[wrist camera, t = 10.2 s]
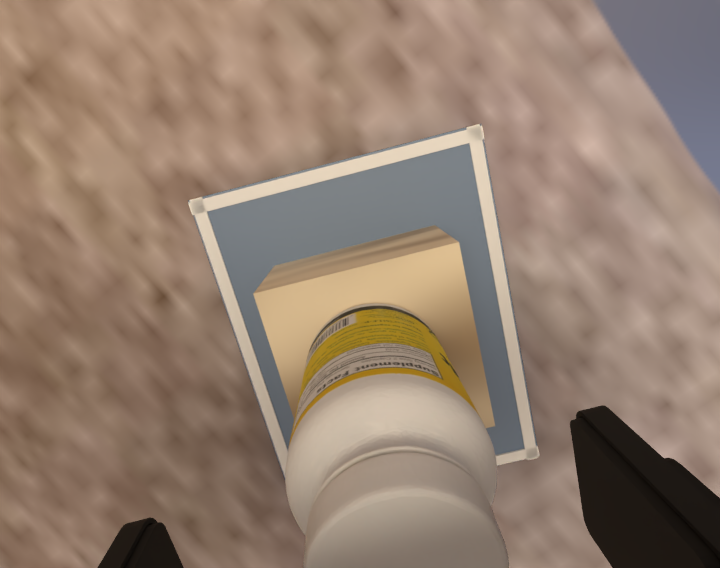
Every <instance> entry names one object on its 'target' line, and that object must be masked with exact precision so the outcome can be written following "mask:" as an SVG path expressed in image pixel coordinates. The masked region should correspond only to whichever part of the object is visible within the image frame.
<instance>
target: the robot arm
mask: <svg viewBox="0 0 720 568" xmlns="http://www.w3.org/2000/svg"><path fill="white" fill-rule="evenodd" d="M570 428H571V435H572V441H573V448H574V455H575V462H576V469H577V476H578V482H579V489H580V496H581V503H582V510H583V516H584V521H585V524H586V526H587V529H588V531H589V533H590V535H591V536H592V538H593V539H594V541H595V542H596V544H597V545H598V547H599V548H600V550H601V551H602V553H603V554H604V556H605V557H606V558H607V560H608V561H609V563H610V564H611V566H612V567H613V568H720V498H719V497H718V496H716V495H715V494H714V493H713V492H712V491H711V490H710V489H708V488H707V487H706V486H705V485H704V484H703V483H702V482H700V481H699V480H698V479H697V478H696V477H695V476H694V475H692V474H691V473H690V472H689V471H688V470H687V469H686V468H684V467H683V466H682V465H681V464H680V463H678V462H677V461H675V460H674V459H671V458H665V459H664V458H663V457H662V456H661V455H660V454H658V453H657V452H656V451H655V450H654V449H653V448H652V447H651V446H650V445H649V444H647V443H646V442H645V441H644V440H643V439H642V438H641V437H640V436H639V435H637V434H636V433H635V432H634V431H633V430H632V429H631V428H630V427H629V426H628V425H626V424H625V423H624V422H623V421H622V420H621V419H620V418H619V417H618V416H616V415H615V414H614V413H613V412H612V411H611V410H610V409H609V408H607V407H606V406H598V407H594V408H590V409H586V410H582V411H578V412H577V415H576V419H575V420H572V421H571V422H570ZM98 568H183V565H182V563H181V561H180V559H179V556H178V554H177V552H176V550H175V547H174V545H173V543H172V541H171V539H170V536H169V534H168V532H167V530H166V527H165V526H164V524H163V523H157V521H156V520H155V519H154V518H147V519H143V520H139V521H135V522H131V523H127V524H125V525H124V526H123V527H122V528H121V530H120V531H119V533H118V535H117V536H116V538H115V540H114V541H113V543H112V545H111V546H110V548H109V550H108V551H107V553H106V555H105V556H104V558H103V560H102V561H101V563H100V565H99V566H98Z"/></svg>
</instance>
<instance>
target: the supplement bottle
mask: <svg viewBox="0 0 720 568" xmlns="http://www.w3.org/2000/svg"><path fill="white" fill-rule="evenodd" d="M285 484H286V493H287V497H288V502H289V506H290V509H291V511H292V514H293V516H294V518H295V521H296V522H297V524H298V526H299V528H300V529H301V530H302V532H303V533H304V535H305V536H306V540H305V551H304V562H303V568H509V562H508V554H507V549H506V546H505V542H504V539H503V537H502V534H501V532H500V529H499V527H498V524H497V522H496V519H495V517H494V514H493V510H492V508H491V506H492V503H493V500H494V496H495V491H496V485H497V462H496V456H495V452H494V448H493V444H492V442H491V439H490V437H489V434H488V432H487V430H486V428H485V425H484V423H483V421H482V419H481V417H480V416H479V414H478V412H477V410H476V408H475V406H474V405H473V403H472V401H471V399H470V397H469V395H468V394H467V392H466V390H465V388H464V386H463V385H462V383H461V381H460V379H459V377H458V375H457V373H456V371H455V370H454V368H453V366H452V364H451V362H450V361H449V359H448V357H447V355H446V353H445V351H444V349H443V347H442V346H441V344H440V342H439V340H438V339H437V337H436V336H435V334H434V333H433V331H432V330H431V329H430V327H429V326H428V325H427V324H426V323H425V322H424V321H423V320H421V319H420V318H419V317H418V316H416V315H415V314H413V313H411V312H410V311H407V310H405V309H403V308H400V307H397V306H394V305H389V304H380V303H373V304H363V305H358V306H355V307H352V308H349V309H347V310H345V311H343V312H341V313H339V314H337V315H336V316H334V317H333V318H332V319H331V320H329V321H328V322H327V323H326V324H325V325H324V326H323V327H322V329H321V330H320V331H319V332H318V334H317V335H316V337H315V339H314V340H313V343H312V345H311V347H310V350H309V354H308V357H307V360H306V365H305V370H304V376H303V381H302V385H301V390H300V395H299V400H298V405H297V410H296V415H295V419H294V424H293V429H292V433H291V438H290V443H289V449H288V456H287V462H286V474H285Z"/></svg>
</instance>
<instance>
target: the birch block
mask: <svg viewBox="0 0 720 568" xmlns="http://www.w3.org/2000/svg"><path fill="white" fill-rule="evenodd" d="M253 295H254V298H255V301H256V304H257V307H258V310H259V313H260V316H261V319H262V322H263V325H264V328H265V331H266V335H267V338H268V341H269V344H270V347H271V350H272V353H273V356H274V359H275V362H276V365H277V368H278V371H279V374H280V377H281V381H282V384H283V387H284V390H285V393H286V396H287V399H288V402H289V405H290V408H291V411H292V414H293V417H294V419H295V415H296V410H297V405H298V400H299V395H300V390H301V385H302V381H303V376H304V370H305V365H306V360H307V357H308V354H309V350H310V347H311V345H312V343H313V340H314V339H315V337H316V335H317V334H318V332H319V331H320V330H321V329H322V327H323V326H324V325H325V324H326V323H327V322H328V321H329V320H331V319H332V318H333V317H334V316H336V315H337V314H339V313H341V312H343V311H345V310H347V309H349V308H352V307H355V306H358V305H363V304H373V303H380V304H389V305H394V306H397V307H400V308H403V309H405V310H407V311H410V312H411V313H413V314H415V315H416V316H418V317H419V318H420V319H421V320H423V321H424V322H425V323H426V324H427V325H428V326H429V327H430V329H431V330H432V331H433V333H434V334H435V336H436V337H437V339H438V340H439V342H440V344H441V346H442V347H443V349H444V351H445V353H446V355H447V357H448V359H449V361H450V362H451V364H452V366H453V368H454V370H455V371H456V373H457V375H458V377H459V379H460V381H461V383H462V385H463V386H464V388H465V390H466V392H467V394H468V395H469V397H470V399H471V401H472V403H473V405H474V406H475V408H476V410H477V412H478V414H479V416H480V417H481V419H482V421H483V423H484V425H485V428H489V427H494V426H495V422H494V417H493V412H492V407H491V402H490V397H489V392H488V387H487V382H486V377H485V371H484V366H483V361H482V356H481V351H480V346H479V341H478V336H477V331H476V326H475V321H474V316H473V311H472V306H471V301H470V296H469V291H468V285H467V280H466V275H465V270H464V265H463V260H462V255H461V250H460V245H459V242H458V241H457V240H455V239H454V238H452V237H451V236H450V235H448V234H447V233H445V232H444V231H442V230H441V229H440V228H438V227H437V226H435V225H433V226H429V227H425V228H421V229H417V230H413V231H409V232H405V233H401V234H398V235H394V236H390V237H386V238H382V239H378V240H374V241H370V242H366V243H362V244H358V245H354V246H350V247H346V248H342V249H338V250H334V251H330V252H326V253H322V254H319V255H315V256H311V257H307V258H303V259H299V260H295V261H291V262H287V263H283V264H279V265H275V266H274V267H273V268H272V270H271V271H270V272H269V274H268V275H267V276H266V278H265V279H264V280H263V281H262V283H261V284H260V285H259V287H258V288H257V289H256V291H255V292H254V293H253Z"/></svg>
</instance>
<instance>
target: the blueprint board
mask: <svg viewBox="0 0 720 568" xmlns="http://www.w3.org/2000/svg"><path fill="white" fill-rule="evenodd" d="M188 202H189V203H188V204H189V207H190V210H191V213H192V215H193V217H194V219H195V222H196V225H197V228H198V231H199V234H200V237H201V240H202V243H203V245H204V248H205V251H206V254H207V257H208V260H209V263H210V266H211V268H212V271H213V274H214V277H215V280H216V283H217V286H218V289H219V292H220V294H221V297H222V300H223V303H224V306H225V309H226V312H227V315H228V318H229V320H230V323H231V326H232V329H233V332H234V335H235V338H236V341H237V343H238V346H239V349H240V352H241V355H242V358H243V361H244V364H245V367H246V369H247V372H248V375H249V378H250V381H251V384H252V387H253V390H254V393H255V395H256V398H257V401H258V404H259V407H260V410H261V413H262V416H263V418H264V421H265V424H266V427H267V430H268V433H269V436H270V439H271V442H272V444H273V447H274V450H275V453H276V456H277V459H278V462H279V465H280V468H281V470H282V473H283V476H284V479H285V474H286V462H287V456H288V449H289V443H290V438H291V433H292V429H293V424H294V417H293V414H292V411H291V408H290V405H289V402H288V399H287V396H286V393H285V390H284V387H283V384H282V381H281V377H280V374H279V371H278V368H277V365H276V362H275V359H274V356H273V353H272V350H271V347H270V344H269V341H268V338H267V335H266V331H265V328H264V325H263V322H262V319H261V316H260V313H259V310H258V307H257V304H256V301H255V298H254V295H253V293H254V292H255V291H256V289H257V288H258V287H259V285H260V284H261V283H262V281H263V280H264V279H265V278H266V276H267V275H268V274H269V272H270V271H271V270H272V268H273V267H274V266H275V265H279V264H283V263H287V262H291V261H295V260H299V259H303V258H307V257H311V256H315V255H319V254H322V253H326V252H330V251H334V250H338V249H342V248H346V247H350V246H354V245H358V244H362V243H366V242H370V241H374V240H378V239H382V238H386V237H390V236H394V235H398V234H401V233H405V232H409V231H413V230H417V229H421V228H425V227H429V226H433V225H435V226H437V227H438V228H440V229H441V230H442V231H444V232H445V233H447V234H448V235H450V236H451V237H452V238H454V239H455V240H457V241H458V242H459V245H460V250H461V255H462V260H463V265H464V270H465V275H466V280H467V285H468V291H469V296H470V301H471V306H472V311H473V316H474V321H475V326H476V331H477V336H478V341H479V346H480V351H481V356H482V361H483V366H484V371H485V377H486V382H487V387H488V392H489V397H490V402H491V407H492V412H493V417H494V422H495V426H494V427H489V428H486V430H487V432H488V434H489V437H490V439H491V442H492V444H493V448H494V452H495V456H496V462H497V466H499V465H503V464H508V463H512V462H516V461H521V460H525V459H527V460H531V459H535V458H538V456H539V450H538V446H537V442H536V436H535V430H534V425H533V419H532V413H531V407H530V402H529V396H528V390H527V384H526V379H525V373H524V367H523V361H522V356H521V350H520V344H519V338H518V333H517V327H516V321H515V315H514V310H513V304H512V298H511V292H510V287H509V281H508V275H507V269H506V264H505V258H504V252H503V246H502V241H501V235H500V229H499V223H498V218H497V212H496V206H495V200H494V195H493V189H492V183H491V177H490V172H489V166H488V160H487V154H486V149H485V143H484V133H483V128H482V126H481V124H477V125H474V126H470V127H466V128H462V129H458V130H455V131H451V132H447V133H443V134H439V135H436V136H432V137H428V138H424V139H420V140H417V141H413V142H409V143H405V144H401V145H398V146H394V147H390V148H386V149H382V150H379V151H375V152H371V153H367V154H363V155H360V156H356V157H352V158H348V159H344V160H341V161H337V162H333V163H329V164H325V165H322V166H318V167H314V168H310V169H306V170H302V171H299V172H295V173H291V174H287V175H283V176H280V177H276V178H272V179H268V180H264V181H261V182H257V183H253V184H249V185H245V186H242V187H238V188H234V189H230V190H226V191H223V192H219V193H215V194H211V195H207V196H204V197H200V198H196V199H192V200H188Z"/></svg>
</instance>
